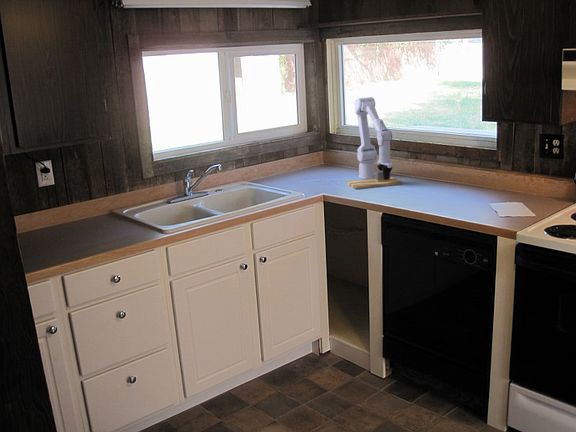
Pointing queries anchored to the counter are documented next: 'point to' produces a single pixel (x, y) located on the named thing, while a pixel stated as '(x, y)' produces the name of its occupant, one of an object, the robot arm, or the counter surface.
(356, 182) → the board
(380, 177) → the block
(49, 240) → the counter surface
